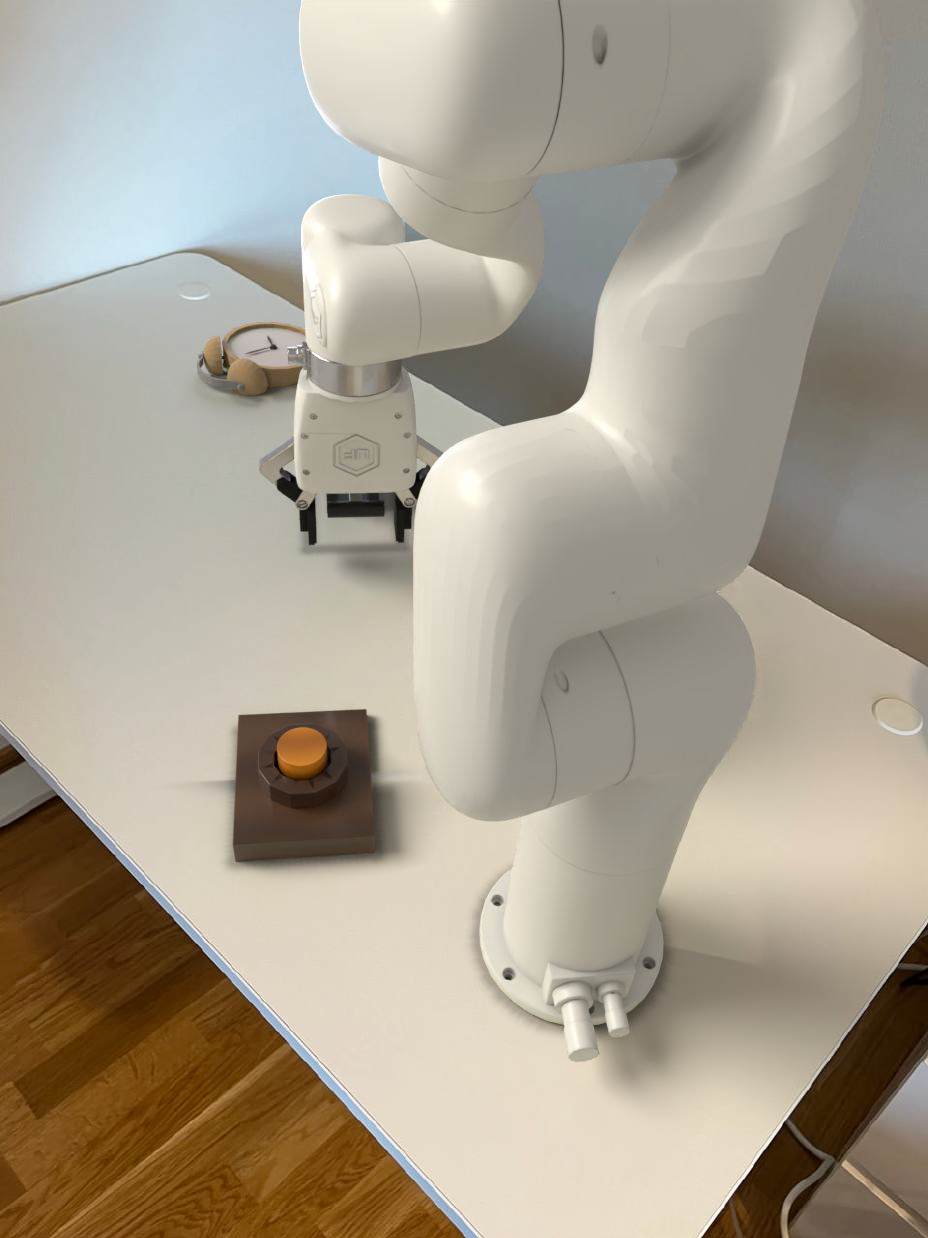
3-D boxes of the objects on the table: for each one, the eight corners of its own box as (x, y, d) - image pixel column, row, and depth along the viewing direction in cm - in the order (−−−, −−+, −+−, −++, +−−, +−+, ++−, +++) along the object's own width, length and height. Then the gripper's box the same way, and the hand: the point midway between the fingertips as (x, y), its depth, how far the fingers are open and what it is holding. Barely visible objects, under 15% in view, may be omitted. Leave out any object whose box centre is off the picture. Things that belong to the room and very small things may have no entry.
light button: (327, 779, 78) (327, 764, 77) (277, 782, 77) (276, 767, 76) (326, 741, 80) (326, 726, 79) (278, 743, 80) (277, 728, 79)
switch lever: (384, 522, 95) (385, 508, 93) (327, 523, 95) (327, 509, 93) (377, 411, 100) (377, 395, 98) (323, 411, 100) (323, 395, 98)
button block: (374, 853, 78) (375, 821, 75) (235, 862, 77) (230, 829, 74) (366, 726, 86) (366, 693, 84) (240, 732, 85) (236, 699, 82)
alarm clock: (344, 353, 122) (232, 373, 112) (339, 392, 124) (229, 415, 115) (287, 313, 127) (175, 329, 118) (283, 352, 130) (173, 370, 121)
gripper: (240, 387, 81) (257, 564, 93) (469, 386, 83) (455, 558, 95) (243, 336, 86) (259, 510, 98) (458, 336, 88) (447, 506, 100)
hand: (355, 533), depth 97 cm, fingers open, 7 cm apart
